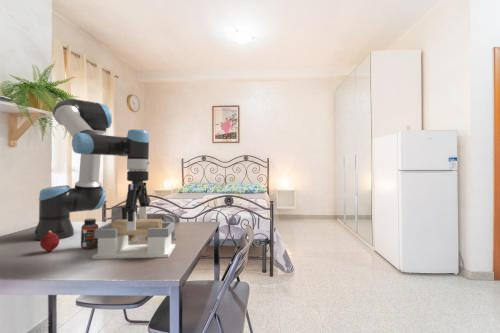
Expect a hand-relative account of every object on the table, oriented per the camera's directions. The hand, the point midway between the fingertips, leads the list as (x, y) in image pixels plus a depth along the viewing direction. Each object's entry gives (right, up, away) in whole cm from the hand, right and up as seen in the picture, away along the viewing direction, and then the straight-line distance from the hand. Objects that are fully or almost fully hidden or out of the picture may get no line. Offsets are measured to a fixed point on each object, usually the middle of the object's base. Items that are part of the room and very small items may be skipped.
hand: (137, 226), depth 104 cm
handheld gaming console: (+2, -10, +21) cm, 24 cm away
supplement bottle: (-22, -10, +6) cm, 25 cm away
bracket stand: (0, -10, 0) cm, 10 cm away
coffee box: (-10, -10, +11) cm, 18 cm away
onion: (-33, -10, 0) cm, 35 cm away
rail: (0, -3, 0) cm, 3 cm away
